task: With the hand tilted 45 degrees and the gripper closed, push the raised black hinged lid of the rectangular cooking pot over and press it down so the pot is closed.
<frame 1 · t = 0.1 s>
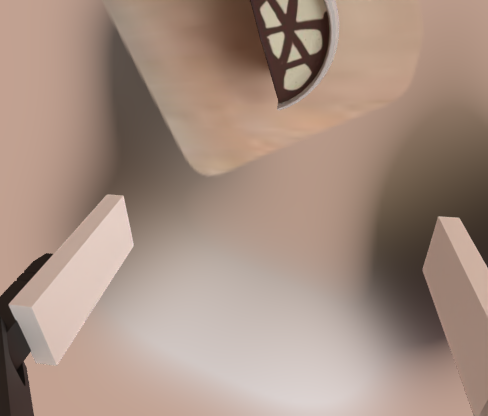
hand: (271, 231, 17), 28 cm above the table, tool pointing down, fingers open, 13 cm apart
food container: (301, 12, 37), on the table
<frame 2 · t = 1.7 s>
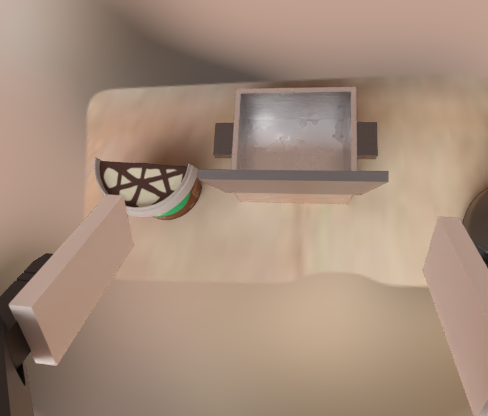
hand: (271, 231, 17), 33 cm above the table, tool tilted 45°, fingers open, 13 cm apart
rectangular cooking pot: (293, 159, 52), on the table
food container: (166, 206, 53), on the table
pot lid: (291, 183, 36), point 15 cm above the table, hinge at 100.0°
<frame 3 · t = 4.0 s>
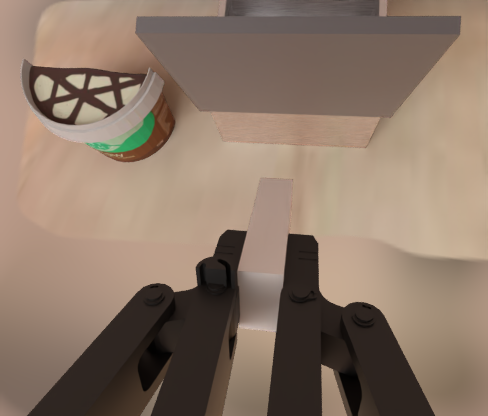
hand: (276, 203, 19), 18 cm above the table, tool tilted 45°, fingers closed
rectangular cooking pot: (296, 89, 40), on the table
food container: (127, 145, 41), on the table
pot lid: (291, 78, 24), point 15 cm above the table, hinge at 100.0°
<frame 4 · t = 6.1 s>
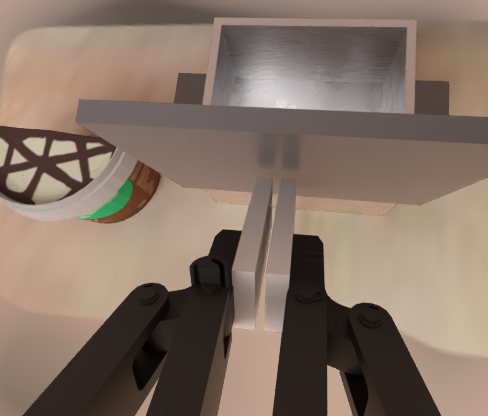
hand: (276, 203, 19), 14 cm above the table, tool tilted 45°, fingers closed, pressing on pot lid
rectangular cooking pot: (302, 141, 34), on the table
food container: (105, 203, 35), on the table
pot lid: (297, 167, 18), point 15 cm above the table, hinge at 95.1°, touching gripper
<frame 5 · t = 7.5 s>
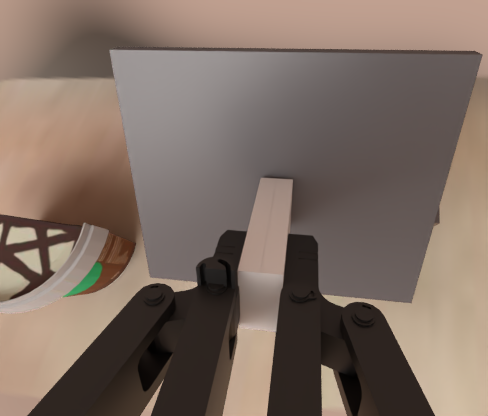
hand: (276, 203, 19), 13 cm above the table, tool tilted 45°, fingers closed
food container: (77, 271, 33), on the table
pot lid: (278, 187, 19), point 13 cm above the table, hinge at 43.6°, touching gripper
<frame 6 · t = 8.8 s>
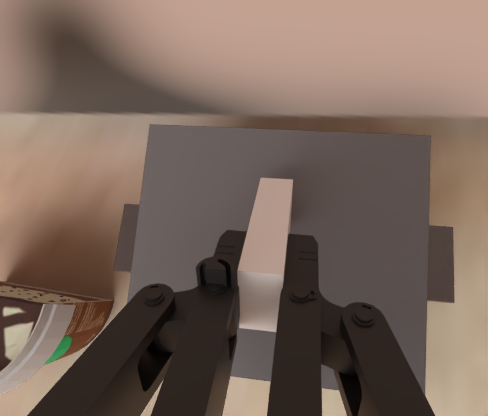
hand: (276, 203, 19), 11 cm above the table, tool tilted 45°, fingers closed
rectangular cooking pot: (280, 261, 29), on the table
food container: (49, 331, 30), on the table
pot lid: (274, 249, 20), point 9 cm above the table, hinge at 4.6°
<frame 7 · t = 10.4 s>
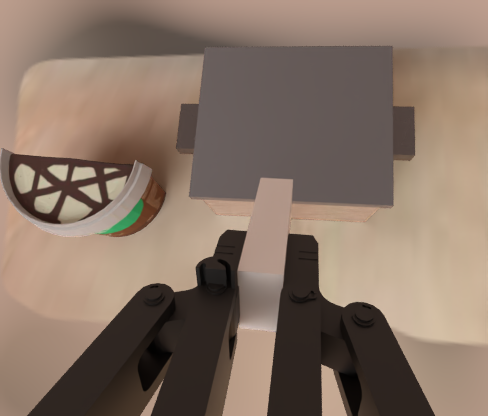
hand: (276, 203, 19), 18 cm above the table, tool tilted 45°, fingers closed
rectangular cooking pot: (291, 158, 38), on the table
food container: (116, 218, 39), on the table
pot lid: (291, 122, 30), point 9 cm above the table, hinge at -0.1°
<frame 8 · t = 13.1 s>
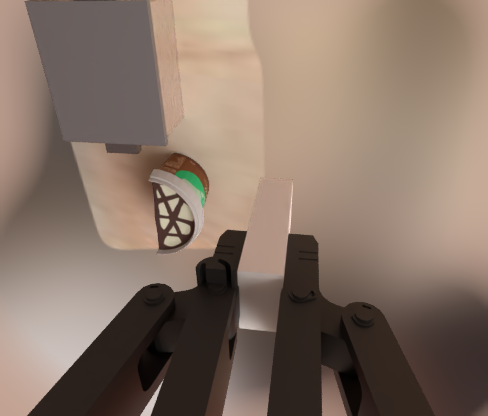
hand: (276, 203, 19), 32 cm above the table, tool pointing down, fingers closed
rectangular cooking pot: (132, 60, 49), on the table
food container: (196, 183, 57), on the table
pot lid: (102, 78, 41), point 9 cm above the table, hinge at -0.1°
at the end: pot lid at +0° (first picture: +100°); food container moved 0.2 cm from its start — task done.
